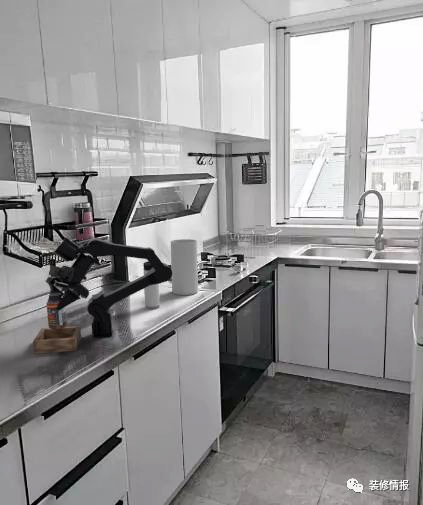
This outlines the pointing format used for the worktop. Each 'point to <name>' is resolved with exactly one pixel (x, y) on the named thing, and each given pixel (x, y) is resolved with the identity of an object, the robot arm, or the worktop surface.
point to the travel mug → (151, 291)
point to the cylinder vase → (184, 266)
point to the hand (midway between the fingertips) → (52, 308)
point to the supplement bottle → (56, 312)
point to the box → (57, 340)
